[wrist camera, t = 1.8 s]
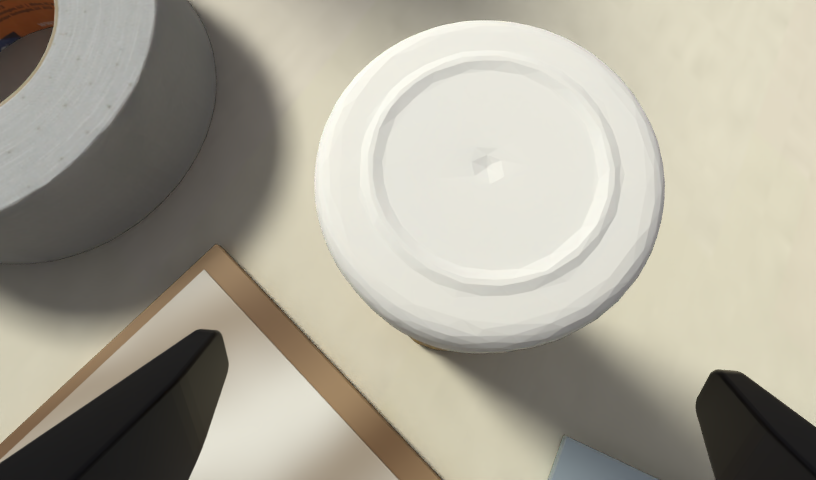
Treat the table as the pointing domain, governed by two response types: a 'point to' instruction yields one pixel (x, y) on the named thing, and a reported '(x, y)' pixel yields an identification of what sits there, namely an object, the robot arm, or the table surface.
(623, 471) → the word card
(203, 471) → the clipboard
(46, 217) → the tape roll
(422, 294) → the sprinkles bottle
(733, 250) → the table surface
